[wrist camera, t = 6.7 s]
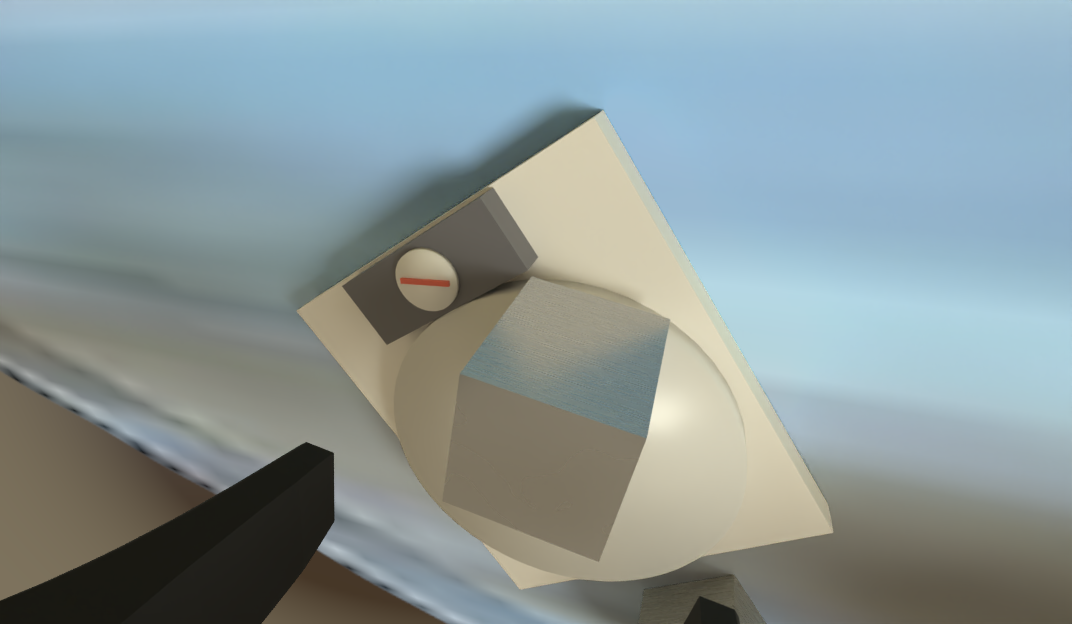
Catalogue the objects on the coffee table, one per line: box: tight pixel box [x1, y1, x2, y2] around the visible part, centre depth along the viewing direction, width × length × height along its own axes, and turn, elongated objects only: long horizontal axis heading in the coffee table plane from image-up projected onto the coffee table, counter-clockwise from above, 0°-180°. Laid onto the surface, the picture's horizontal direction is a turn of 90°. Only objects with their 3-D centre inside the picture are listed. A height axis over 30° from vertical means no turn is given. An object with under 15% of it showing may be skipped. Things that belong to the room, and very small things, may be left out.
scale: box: [297, 110, 833, 589], centre depth 19 cm, size 15×13×2 cm
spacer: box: [442, 276, 670, 562], centre depth 15 cm, size 4×4×5 cm
